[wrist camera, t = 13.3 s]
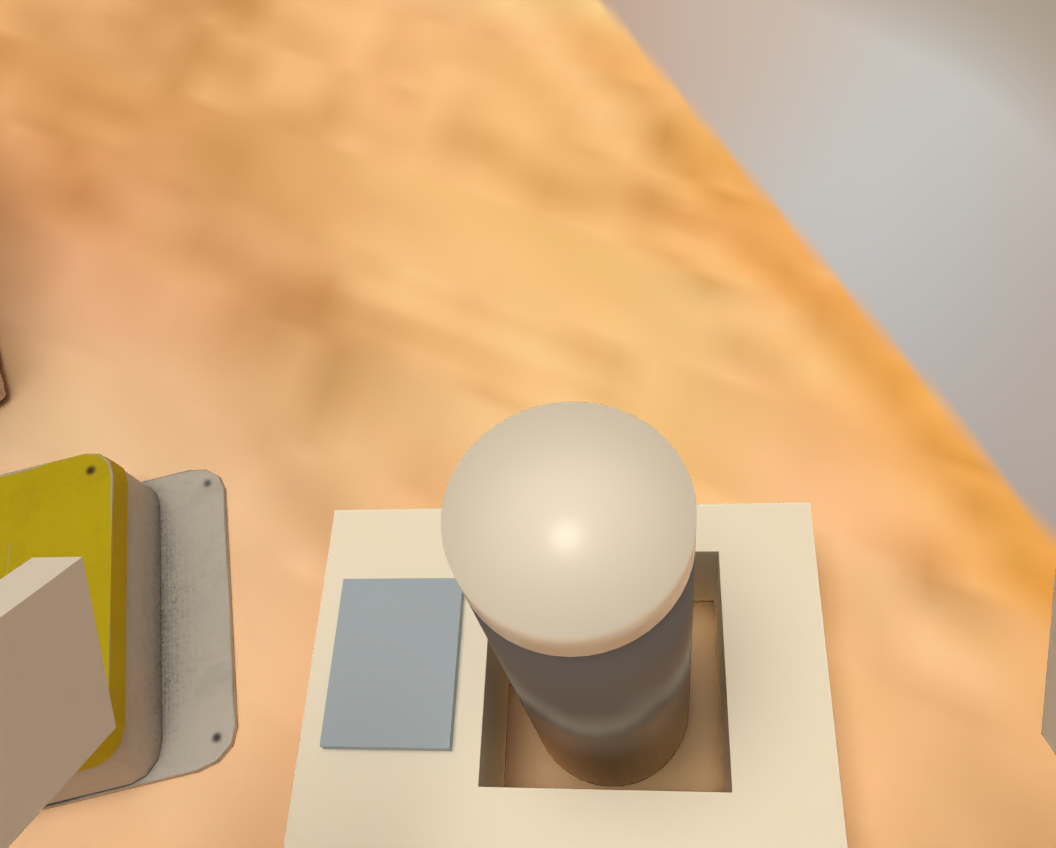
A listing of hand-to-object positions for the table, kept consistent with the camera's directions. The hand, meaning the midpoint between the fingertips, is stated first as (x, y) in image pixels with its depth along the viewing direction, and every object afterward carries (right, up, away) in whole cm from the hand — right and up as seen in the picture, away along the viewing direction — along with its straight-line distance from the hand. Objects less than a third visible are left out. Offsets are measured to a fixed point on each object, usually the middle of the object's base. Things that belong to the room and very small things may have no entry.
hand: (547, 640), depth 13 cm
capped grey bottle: (+2, -4, +12) cm, 13 cm away
